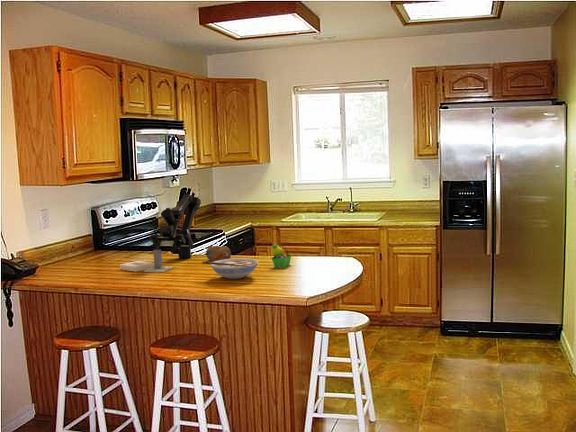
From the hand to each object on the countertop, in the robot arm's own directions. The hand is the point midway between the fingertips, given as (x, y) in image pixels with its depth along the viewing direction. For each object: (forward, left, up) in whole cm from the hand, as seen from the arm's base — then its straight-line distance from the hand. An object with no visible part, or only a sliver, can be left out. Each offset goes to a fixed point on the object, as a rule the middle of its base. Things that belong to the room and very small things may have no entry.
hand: (163, 252), depth 331 cm
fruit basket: (-61, +12, -8) cm, 63 cm away
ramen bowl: (-38, +36, -8) cm, 53 cm away
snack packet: (-28, -11, -8) cm, 32 cm away
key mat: (+2, +6, -8) cm, 11 cm away
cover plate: (+14, -1, -8) cm, 16 cm away
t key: (+2, +7, -7) cm, 10 cm away
